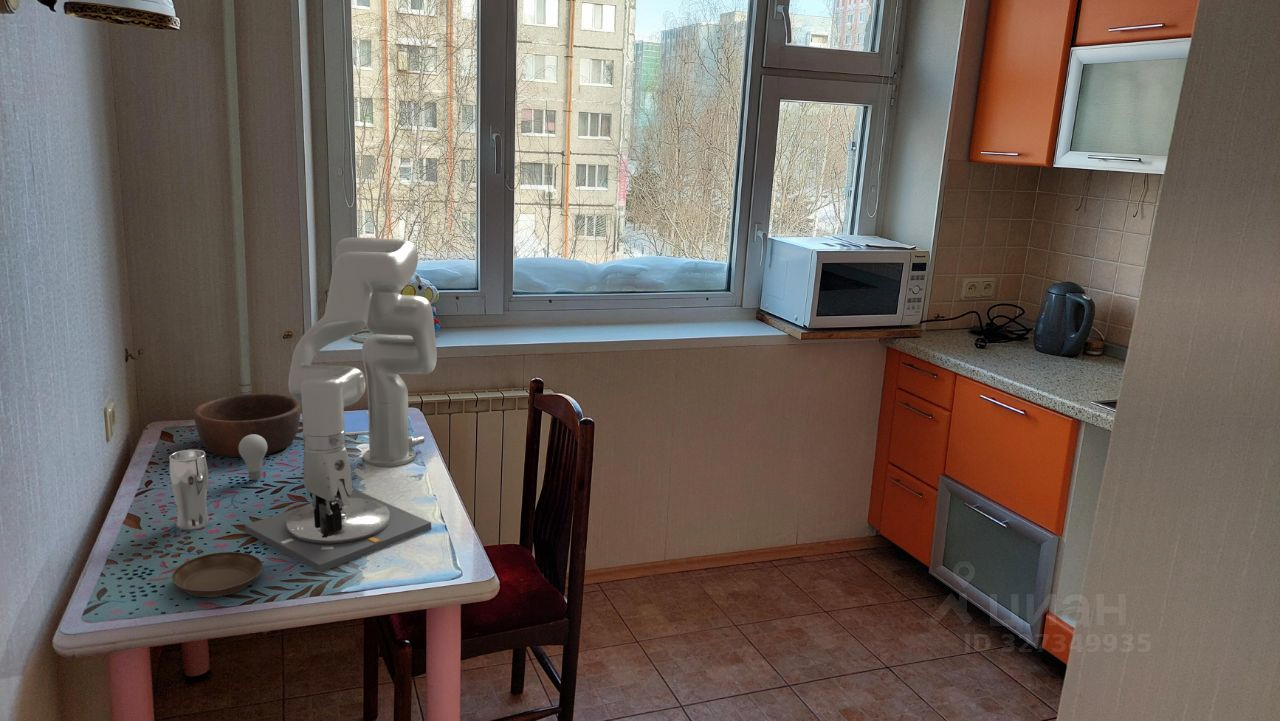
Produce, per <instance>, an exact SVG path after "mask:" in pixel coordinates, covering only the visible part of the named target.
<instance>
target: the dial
mask: <svg viewBox="0 0 1280 721" xmlns="http://www.w3.org/2000/svg"><path fill="white" fill-rule="evenodd" d="M348 501H349V505H348V506H346V507H344V508H343V511H342V512H341V516H342V529H341V530H339V531H337V532H334V533H331V534H327V533H326V522H325V514H327V507H326V500H324V501H321V502H320V503H319V513H320V528H316V527H315V522H314V509H315V508H313V506H312V502H311V503H308V504H305V505H302V506H303V507H302V506H300V507H301V508H299V507H298V508H299V509H297V510H295V511H294V512H292V513H291V514H290V515H289V516H288V518H287V520H286V527H287V532H288V533H289V534H290V535H291V536H292V537H294V538H296V539H298V540H301V541H305V542H310V543H319V544H335V543H345V542H351V541H356V540H360V539H364V538H367V537H369V536H372V535H374V534H376V533H378V532H380V531H381V530H383V529H384V528H385V527H386V526H387V525H388V524H389V521H390V512H389V510H388V508H387V507H386V506H385V505H383V504H381V503H379V502H376V501H373V500H369V499H362V498H348ZM335 503H336V501H334V502H332V506H333V505H334V504H335Z"/></svg>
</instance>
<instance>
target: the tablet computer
mask: <svg viewBox="0 0 1280 721" xmlns="http://www.w3.org/2000/svg"><path fill="white" fill-rule="evenodd" d="M344 427H345V435H350V436H358V435H357V434H360V435H361V434H362V435H369V420H368V410H365V411H361V410H360V411H348V412H344ZM355 434H356V435H355Z"/></svg>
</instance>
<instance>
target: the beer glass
mask: <svg viewBox="0 0 1280 721" xmlns="http://www.w3.org/2000/svg"><path fill="white" fill-rule="evenodd" d="M206 456H207V454H206V452H205V451H204V450H202V449H201V450H200V449H185V450H183V449H182V450H179V451H176V452H173V453H171V454H169V456H168V458H169V464H168V466H169V469H168V470H169V471H168V472H169V482H170V486H171V489H172V494H173V497H174V500H175V504H176V507H177V508H176V509H177V518H176V528H177V529H179V530H182V531H194V530H199V529H202V528H205V527H206V526H208V525H209V524H210V516H209V514H208V513H209V512H208V509H207V497H208V488H209V469H208V468H209V467H208V461H207V457H206Z"/></svg>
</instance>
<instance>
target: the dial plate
mask: <svg viewBox="0 0 1280 721" xmlns="http://www.w3.org/2000/svg"><path fill="white" fill-rule="evenodd" d="M347 498H362V499H369V500H373V501H376V502H379V503H381V504H383V505H385V506H386V507H387V508H388V510H389V512H390V521H389V524H388V525H387V526H386V527H385V528H384V529H383V530H381V531H380V532H378V533H376V534H374V535H372V536H369V537H367V538H364V539H360V540H356V541H351V542H345V543H335V544H319V543H310V542H305V541H301V540H298V539H296V538H294V537H292V536H291V535H290V534H289V533H288V532H287V527H286V520H287V518H288V516H289V515H290V514H291V513H292V512H294V511H295V510H297V509H299V508H301V507H303V506H304V505H302V506H299V507H296V508H293V509H290V510H287V511H284V512H281V513H278V514H275V515H272V516H269V517H266V518H262V519H259V520H256V521H253V522H249V523H248V524H247V523H246V524H244V532H245V533H246V534H248V535H250V536H252V537H254V538H255V539H258V540H260V541H261V542H263V543H265V544H267V545H269V546H270V547H272V548H274V549H276V550H278V551H280V552H281V553H283V554H285V555H287V556H289V557H291V558H292V557H293V558H292V559H294V558H295V560H296V561H298V562H300V563H302V564H303V565H305V564H306V566H308V567H309V568H310V569H313V570H315V571H316V572H318V571H319V573H322V572H323V573H324V572H325V571H327V570H330V569H332V568H336V567H339V566H340V565H343V564H345V563H346V564H347V563H348V562H351V561H353V560H355V559H358V558H361V557H364V556H366V555H368V554H371V553H374V552H376V551H379V550H382V549H384V548H387V547H389V546H391V545H395V544H397V543H399V542H403V541H405V540H406V539H410V538H413V537H415V536H417V535H420V534H422V533H424V532H427V531H431V530H432V521H429V520H427V519H424V518H422V517H420V516H418V515H415V514H413V513H410V512H408V511H406V510H404V509H401V508H398V507H396V506H394V505H392V504H389V503H387V502H385V501H383V500H381V499H378V498H376V497H373V496H371V495H369V494H366V493H364V492H362V491H359V490H357V489H352V495H351V496H347Z"/></svg>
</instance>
